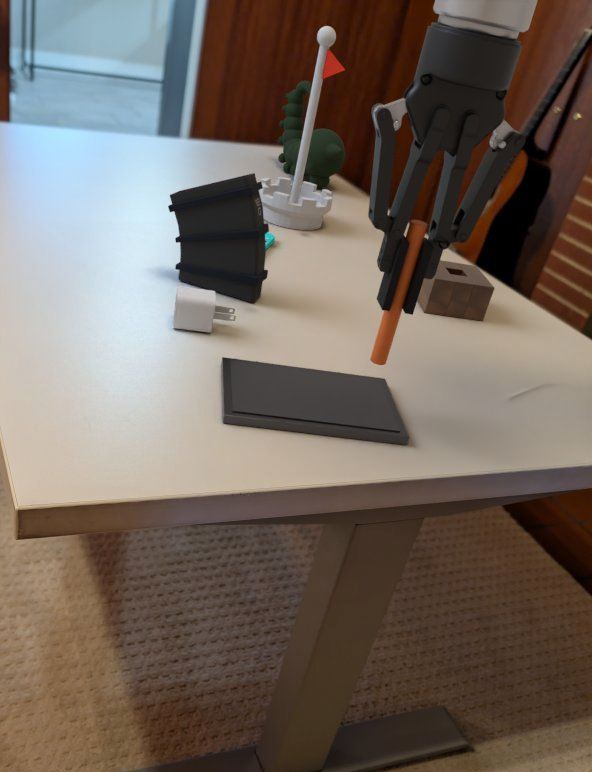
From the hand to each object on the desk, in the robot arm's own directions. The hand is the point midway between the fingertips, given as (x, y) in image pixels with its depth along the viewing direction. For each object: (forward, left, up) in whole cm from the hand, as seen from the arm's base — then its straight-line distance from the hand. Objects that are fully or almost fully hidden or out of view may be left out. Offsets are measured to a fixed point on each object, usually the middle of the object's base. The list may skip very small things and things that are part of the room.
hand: (394, 306), depth 71 cm
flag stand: (+2, -65, -12) cm, 66 cm away
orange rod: (0, 0, -6) cm, 6 cm away
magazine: (+16, -28, -12) cm, 34 cm away
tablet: (+6, 0, -11) cm, 13 cm away
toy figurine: (-4, -97, -12) cm, 98 cm away
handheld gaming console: (+12, -46, -12) cm, 49 cm away
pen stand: (-18, -34, -11) cm, 40 cm away
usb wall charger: (+17, -15, -12) cm, 25 cm away
